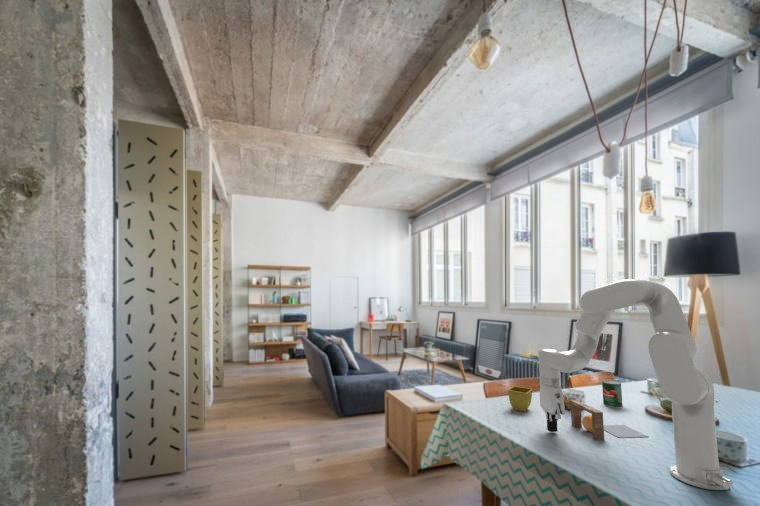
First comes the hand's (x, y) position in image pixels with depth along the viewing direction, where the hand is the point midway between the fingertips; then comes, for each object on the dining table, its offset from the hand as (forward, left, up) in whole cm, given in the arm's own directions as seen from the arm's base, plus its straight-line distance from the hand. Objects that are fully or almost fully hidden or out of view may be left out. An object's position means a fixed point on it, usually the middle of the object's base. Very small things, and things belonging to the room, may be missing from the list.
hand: (552, 430), depth 137 cm
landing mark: (0, -28, -1) cm, 28 cm away
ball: (0, -16, +2) cm, 16 cm away
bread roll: (+30, -26, -1) cm, 40 cm away
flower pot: (+28, -1, -1) cm, 28 cm away
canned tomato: (+32, -49, -1) cm, 59 cm away
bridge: (0, -14, -1) cm, 14 cm away
